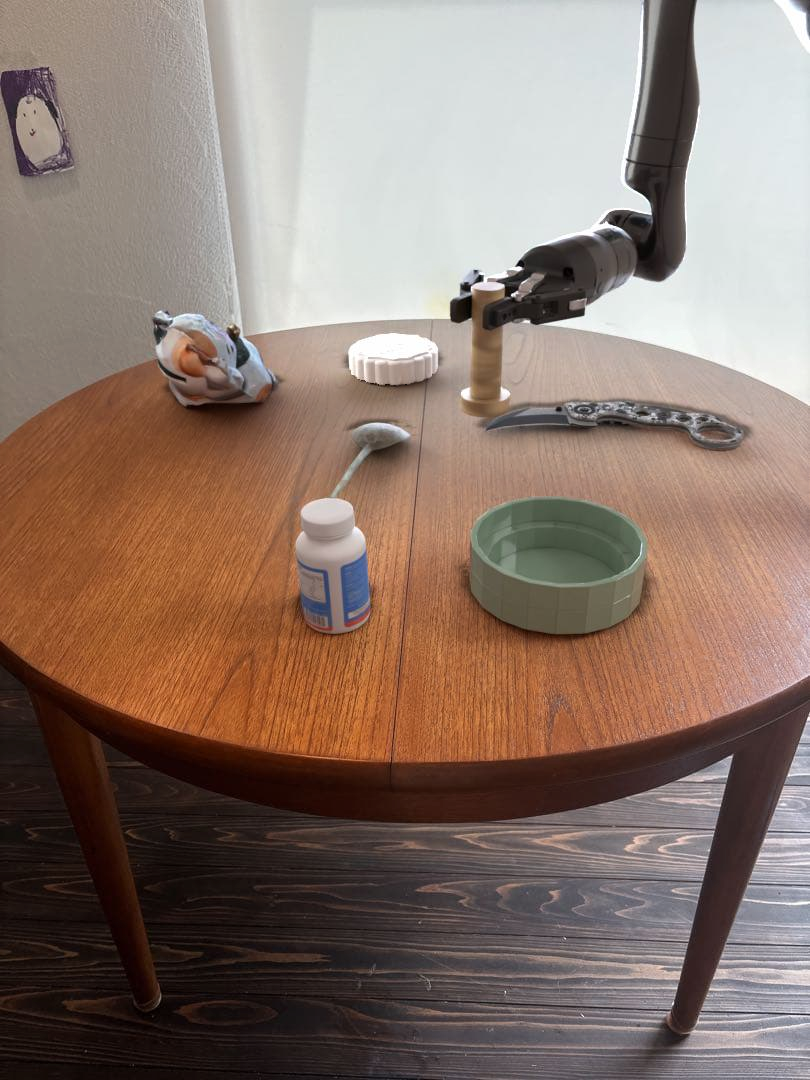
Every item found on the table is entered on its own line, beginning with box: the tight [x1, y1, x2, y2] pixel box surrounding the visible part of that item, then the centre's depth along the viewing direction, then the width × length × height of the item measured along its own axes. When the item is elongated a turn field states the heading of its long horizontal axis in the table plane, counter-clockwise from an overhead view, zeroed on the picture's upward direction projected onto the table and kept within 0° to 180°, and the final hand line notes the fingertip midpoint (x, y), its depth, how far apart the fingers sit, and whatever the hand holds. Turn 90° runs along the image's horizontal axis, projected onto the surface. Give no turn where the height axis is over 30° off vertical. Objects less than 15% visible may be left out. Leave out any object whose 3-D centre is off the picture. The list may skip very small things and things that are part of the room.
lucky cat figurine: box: [151, 309, 279, 406], centre depth 106 cm, size 15×12×14 cm
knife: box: [483, 400, 745, 451], centre depth 99 cm, size 28×2×10 cm
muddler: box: [460, 282, 511, 419], centre depth 82 cm, size 5×5×12 cm
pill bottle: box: [295, 497, 371, 635], centre depth 67 cm, size 6×5×10 cm
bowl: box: [468, 496, 649, 635], centre depth 71 cm, size 14×14×5 cm
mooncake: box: [348, 332, 439, 386], centre depth 117 cm, size 12×12×4 cm
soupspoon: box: [326, 422, 411, 499], centre depth 90 cm, size 22×3×7 cm
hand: (470, 315), depth 79 cm, fingers closed on muddler, 3 cm apart
